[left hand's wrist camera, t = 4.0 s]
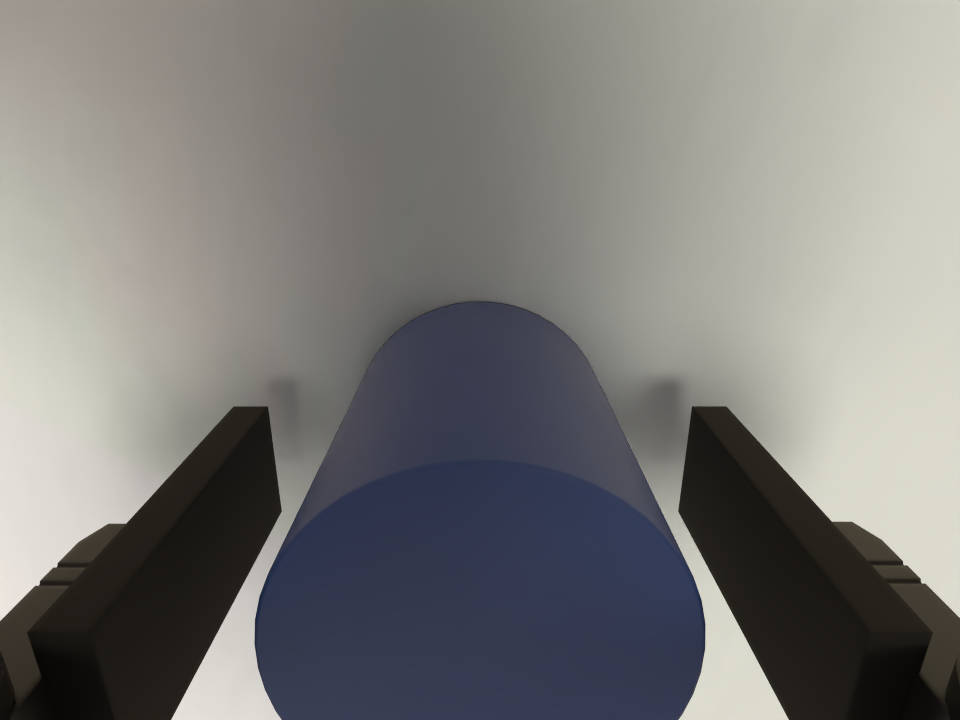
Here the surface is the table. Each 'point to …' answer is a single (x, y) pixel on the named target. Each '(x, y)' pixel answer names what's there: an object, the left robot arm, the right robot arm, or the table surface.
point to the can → (480, 545)
